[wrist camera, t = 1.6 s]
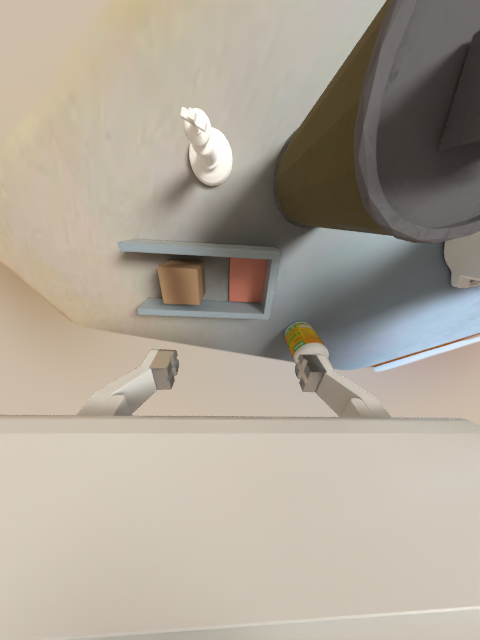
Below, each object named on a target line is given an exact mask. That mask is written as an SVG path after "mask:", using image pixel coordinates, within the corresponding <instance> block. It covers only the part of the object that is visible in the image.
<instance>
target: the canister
mask: <svg viewBox="0 0 480 640" xmlns="http://www.w3.org/2000/svg"><path fill="white" fill-rule="evenodd" d="M274 191H275V197H276V202H277V204H278V207H279V209H280V211H281V212H282V214H283V216H284V217H285V218H286V219H287V220H288V221H290V222H291V223H293V224H295V225H296V226H300V227H307V228H311V227H322V228H331V229H339V230H348V231H356V232H365V233H373V234H382V235H390V236H394V237H395V238H398V239H402V240H406V241H410V242H414V243H440V242H444V241H448V240H453V239H457V238H461V237H466V236H469V235H472V234H474V233H476V232H479V231H480V0H387V1H386V2H385V4H384V5H383V7H382V8H381V10H380V11H379V12H378V14H377V15H376V17H375V18H374V20H373V21H372V23H371V24H370V26H369V27H368V28H367V30H366V31H365V33H364V34H363V36H362V37H361V39H360V40H359V41H358V43H357V44H356V46H355V47H354V49H353V50H352V52H351V53H350V55H349V56H348V57H347V59H346V60H345V62H344V63H343V65H342V66H341V68H340V69H339V70H338V72H337V73H336V75H335V76H334V78H333V79H332V81H331V82H330V84H329V85H328V86H327V88H326V89H325V91H324V92H323V94H322V95H321V97H320V98H319V99H318V101H317V102H316V104H315V105H314V107H313V108H312V110H311V111H310V112H309V114H308V115H307V117H306V118H305V120H304V121H303V123H302V124H301V126H300V127H299V128H298V129H297V130H296V131H295V132H294V133H293V134H292V135H291V137H290V138H289V140H288V141H287V142H286V144H285V146H284V148H283V150H282V152H281V154H280V156H279V159H278V162H277V166H276V170H275V174H274Z"/></svg>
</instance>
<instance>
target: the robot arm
mask: <svg viewBox="0 0 480 640" xmlns="http://www.w3.org/2000/svg"><path fill="white" fill-rule="evenodd" d="M444 257H445V261H446V263H447V265H448V267H449V268H450V270H451V285H452V286H453V287H457V288H469V287H476V286H480V231H479V232H476V233H474V234H472V235H469V236H466V237H461V238H457V239H453V240H448V241H445V246H444ZM298 360H299V362H297V363H296V366H295V372H296V376H297V378H298V379H300V386H301V388H302V391H303V392H316V394H317V395H318V396H319V397H320V398H321V399H322V400H324V402H326V404H327V405H329V407H330V408H331V409H332V410H333V411H334V412H335V413H337V415H339V417H234V416H232V417H231V416H226V417H225V416H132V413H133V412H134V411H135V410H137V409H138V408H139V407H140V406H141V405H142V404H143V403H144V402H145V401H146V400H147V399H148V398H149V397H150V396H151V395H153V394H154V393H155V391H157V390H161V389H162V390H163V389H172V386H173V383H174V376H176V375H177V372H178V368H179V361H178V359H177V351H176V350H161V349H160V350H158V349H152V350H150V352H149V353H148V355H147V356H146V358H145V359H144V361H143V362H142V364H141V365H140V367H139V368H135V369H134V370H132V371H131V372H129V373H127V374H126V375H124V376H122V377H121V378H119V379H118V380H116V381H114V382H112V383H111V384H109V385H107V386H106V387H104V388H102V389H101V390H99V391H98V392H96V393H94V394H93V395H92V397H91V398H90V399H89V400H88V402H87V403H86V404H85V405H84V407H83V408H82V409H81V410H80V411H79V413H78V414H77V415H0V640H480V426H479V425H477V424H475V423H473V422H471V421H469V420H466V419H461V418H392V417H391V416H390V415H389V414H388V412H387V411H386V410H385V409H384V408H383V406H382V405H381V404H380V402H379V401H378V400H377V399H376V398H375V397H373V396H372V395H370V394H369V393H367V392H366V391H364V390H363V389H361V388H360V387H358V386H357V385H355V384H354V383H352V382H351V381H349V380H348V379H346V378H345V377H343V376H341V375H340V374H338V373H335V372H334V370H333V369H332V367H331V366H330V364H329V363H328V361H327V360H326V358H325V357H324V355H318V354H315V355H312V354H300V355H299V357H298Z"/></svg>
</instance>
